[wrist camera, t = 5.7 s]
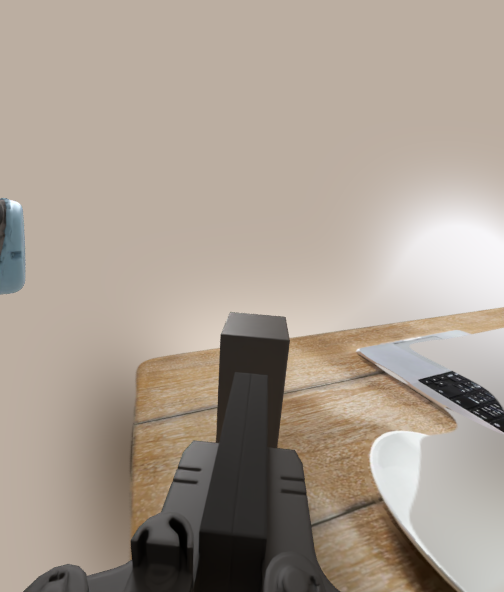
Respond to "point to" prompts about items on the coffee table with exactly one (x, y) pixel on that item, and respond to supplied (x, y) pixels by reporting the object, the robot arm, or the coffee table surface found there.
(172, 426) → the coffee table surface
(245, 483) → the robot arm
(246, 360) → the dark grey block
